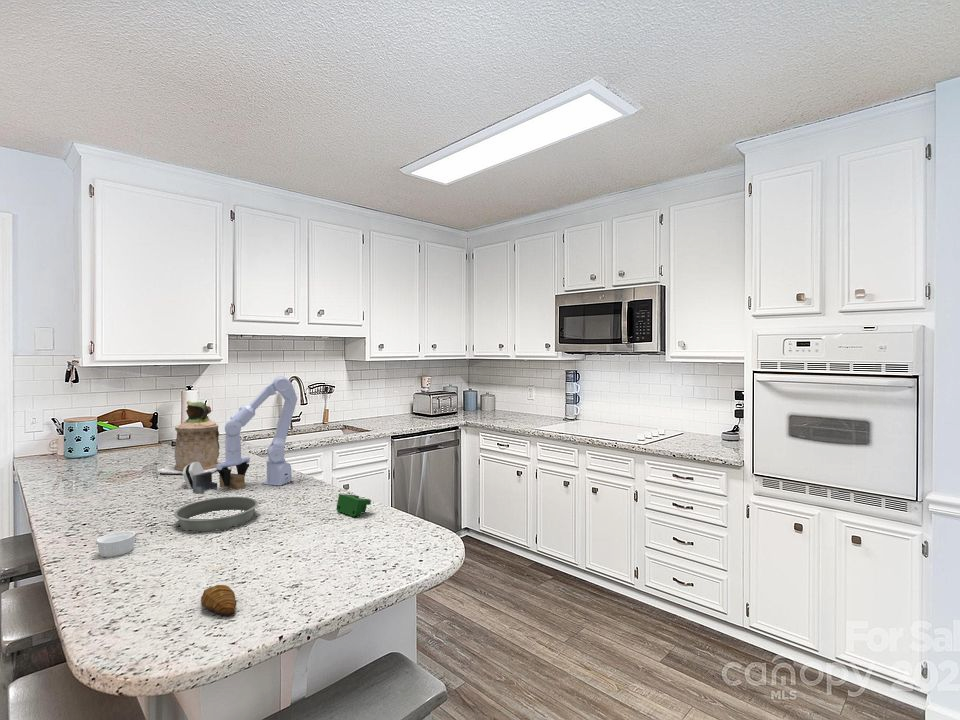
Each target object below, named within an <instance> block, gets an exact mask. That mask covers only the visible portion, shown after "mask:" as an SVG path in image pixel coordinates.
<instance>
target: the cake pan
mask: <svg viewBox="0 0 960 720" xmlns="http://www.w3.org/2000/svg"><path fill="white" fill-rule="evenodd" d="M258 505H259V501H258V500H257V499H255V498H252V497H248V496H220V497H215V498H214V497H213V498H207V499H204V500H199V501H195V502H191V503H188V504H186V505H183V506H181V507H179V508H178V509H176V510H175V511H174V513H173V515H174V518H175V519H178V522H179V526H180V527H181V528H182V529H183V530H185V529H186V530H185V531H189V530H192V531H191V532H208V531H207V530H213V531H217V530H216V529H220V530H224V529H223V528H226V529H229V528H228V527H230V528H233V527H232V526H234V527H236V526H235V525H237V526H239V524H240V525H243V524H245V523H247V522H249V521H251V519H253V517H254V514H255V509H256V508H257V507H258ZM220 510H228V511H229V510H234V511H235V510H242V511H243V510H244V512H242V511H241V513H238V514H235V515H231V516H226V517H220V518H213V519H189V518H190V517H193V516H196V515H199V514H203V513H208V512H212V511H220ZM248 520H249V521H248ZM246 521H247V522H246ZM244 522H245V523H244ZM242 523H243V524H242Z"/></svg>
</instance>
